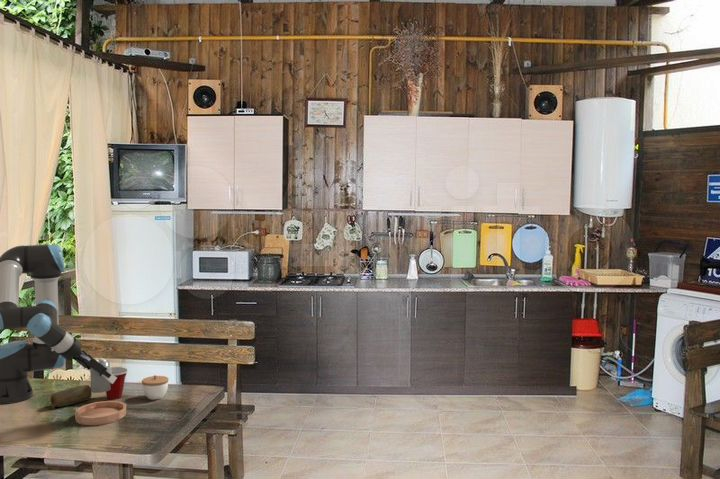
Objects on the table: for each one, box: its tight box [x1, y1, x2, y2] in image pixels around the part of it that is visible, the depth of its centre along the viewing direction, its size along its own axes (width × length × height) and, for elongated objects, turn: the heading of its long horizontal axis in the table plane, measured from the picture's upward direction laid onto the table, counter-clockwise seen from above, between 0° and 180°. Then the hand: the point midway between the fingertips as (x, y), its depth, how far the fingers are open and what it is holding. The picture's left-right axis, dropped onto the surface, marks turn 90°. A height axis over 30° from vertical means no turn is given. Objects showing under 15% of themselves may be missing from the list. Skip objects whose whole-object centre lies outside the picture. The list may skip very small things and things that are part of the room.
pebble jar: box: [89, 357, 111, 394], centre depth 228 cm, size 7×7×12 cm
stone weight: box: [49, 384, 93, 408], centre depth 244 cm, size 15×7×7 cm, turn 142°
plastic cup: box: [105, 366, 129, 400], centre depth 252 cm, size 11×11×12 cm
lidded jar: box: [141, 374, 169, 401], centre depth 252 cm, size 11×11×9 cm
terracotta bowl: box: [74, 400, 127, 426], centre depth 230 cm, size 18×18×3 cm
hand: (109, 378), depth 231 cm, fingers closed on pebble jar, 7 cm apart
